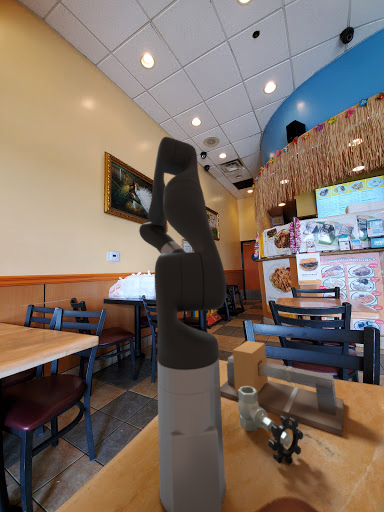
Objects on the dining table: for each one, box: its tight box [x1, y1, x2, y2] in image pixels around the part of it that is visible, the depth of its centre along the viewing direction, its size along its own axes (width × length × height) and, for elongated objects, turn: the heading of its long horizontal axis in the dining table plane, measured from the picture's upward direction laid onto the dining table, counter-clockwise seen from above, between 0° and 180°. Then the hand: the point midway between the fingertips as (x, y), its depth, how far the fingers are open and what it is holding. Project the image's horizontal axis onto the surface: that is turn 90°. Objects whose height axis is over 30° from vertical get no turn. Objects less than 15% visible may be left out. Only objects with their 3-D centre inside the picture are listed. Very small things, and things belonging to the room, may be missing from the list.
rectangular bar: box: [226, 355, 337, 416], centre depth 51 cm, size 24×4×7 cm, turn 53°
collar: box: [232, 340, 269, 393], centre depth 54 cm, size 5×10×10 cm, turn 143°
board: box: [220, 379, 345, 436], centre depth 50 cm, size 26×12×1 cm, turn 53°
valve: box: [237, 386, 304, 466], centre depth 38 cm, size 7×7×12 cm
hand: (205, 290), depth 66 cm, fingers closed
